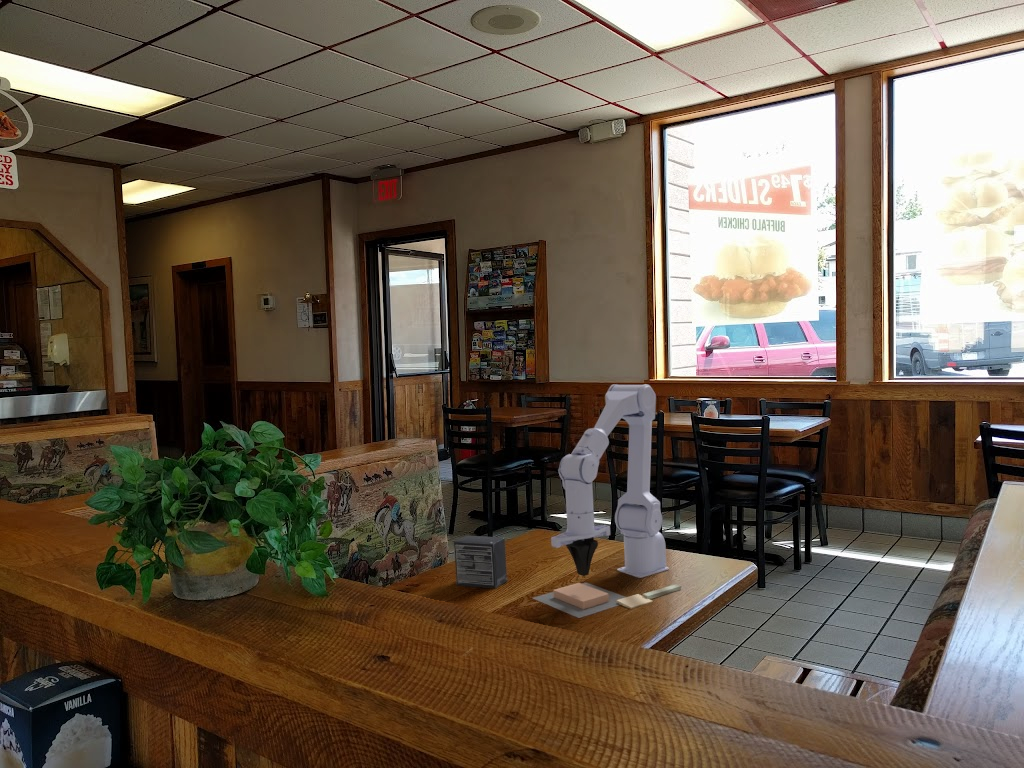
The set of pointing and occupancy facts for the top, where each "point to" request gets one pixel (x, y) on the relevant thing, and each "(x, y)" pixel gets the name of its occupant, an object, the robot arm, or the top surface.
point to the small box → (480, 561)
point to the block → (581, 595)
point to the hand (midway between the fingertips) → (583, 574)
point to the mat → (578, 611)
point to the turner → (646, 597)
